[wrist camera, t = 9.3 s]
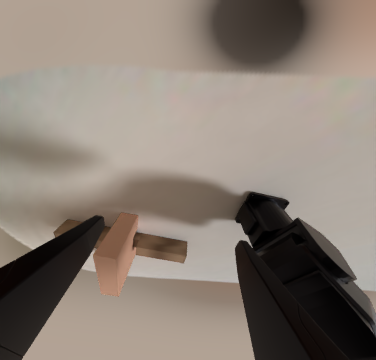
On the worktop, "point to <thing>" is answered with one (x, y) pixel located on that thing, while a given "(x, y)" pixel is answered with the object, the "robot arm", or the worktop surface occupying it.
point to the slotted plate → (116, 254)
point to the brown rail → (142, 244)
